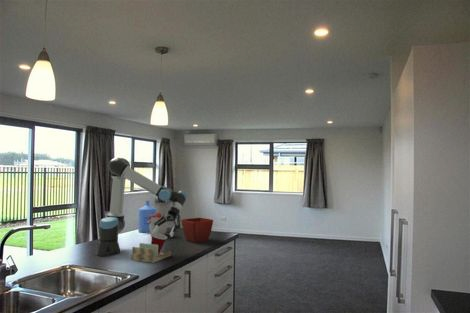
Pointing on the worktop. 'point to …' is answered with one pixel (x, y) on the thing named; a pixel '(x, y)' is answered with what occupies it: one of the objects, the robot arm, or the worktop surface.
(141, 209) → the water jug
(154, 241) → the plastic cup
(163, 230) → the citrus juicer
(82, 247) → the worktop surface
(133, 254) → the wooden tray
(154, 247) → the pusher
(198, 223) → the plant pot
